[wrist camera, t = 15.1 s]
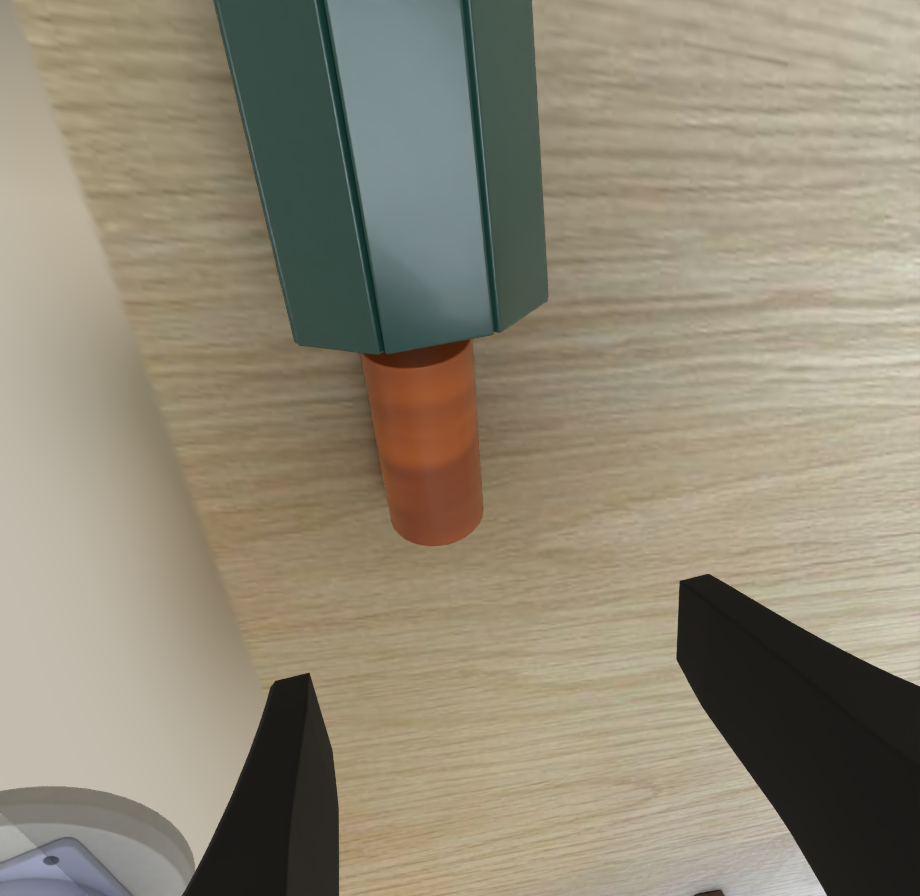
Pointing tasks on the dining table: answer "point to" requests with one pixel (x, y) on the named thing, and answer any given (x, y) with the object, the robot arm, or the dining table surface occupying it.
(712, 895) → the small blocks
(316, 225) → the octagonal container
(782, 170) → the dining table surface
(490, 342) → the dining table surface
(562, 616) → the dining table surface
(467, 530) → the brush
